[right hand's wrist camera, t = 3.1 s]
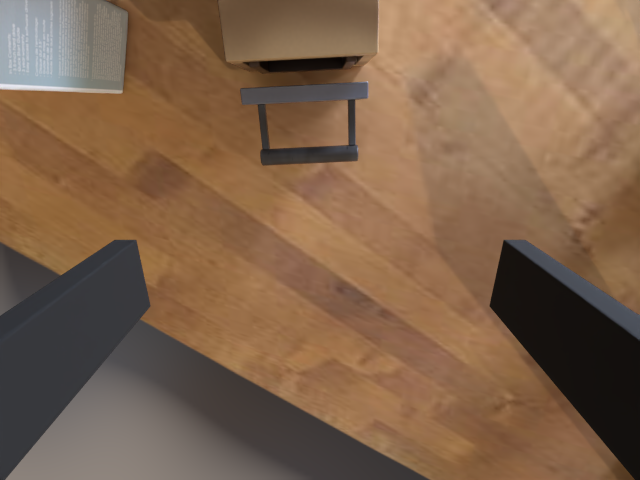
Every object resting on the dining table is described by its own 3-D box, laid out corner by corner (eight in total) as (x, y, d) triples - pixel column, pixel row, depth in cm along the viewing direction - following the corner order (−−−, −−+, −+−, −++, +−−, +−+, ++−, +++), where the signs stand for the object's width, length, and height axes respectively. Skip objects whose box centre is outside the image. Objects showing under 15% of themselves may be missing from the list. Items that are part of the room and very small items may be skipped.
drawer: (359, 155, 35) (367, 166, 29) (262, 159, 35) (250, 171, 29) (358, -126, 27) (369, -196, 21) (232, -118, 27) (206, -185, 21)
